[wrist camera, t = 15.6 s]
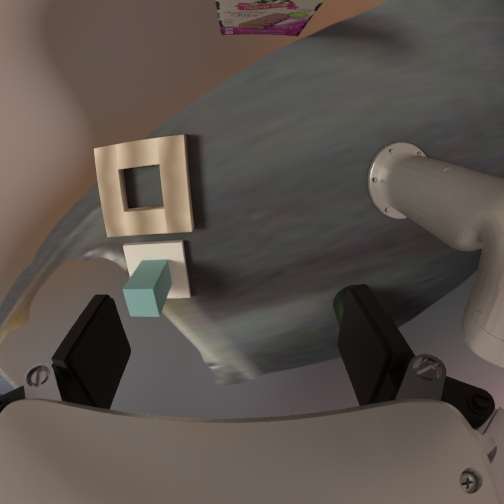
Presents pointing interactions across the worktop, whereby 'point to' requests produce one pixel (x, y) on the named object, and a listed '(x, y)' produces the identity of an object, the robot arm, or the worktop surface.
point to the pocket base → (172, 179)
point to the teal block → (148, 288)
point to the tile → (159, 252)
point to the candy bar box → (265, 16)
